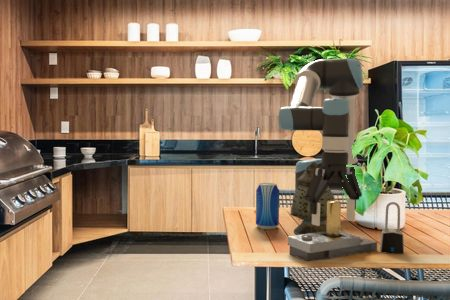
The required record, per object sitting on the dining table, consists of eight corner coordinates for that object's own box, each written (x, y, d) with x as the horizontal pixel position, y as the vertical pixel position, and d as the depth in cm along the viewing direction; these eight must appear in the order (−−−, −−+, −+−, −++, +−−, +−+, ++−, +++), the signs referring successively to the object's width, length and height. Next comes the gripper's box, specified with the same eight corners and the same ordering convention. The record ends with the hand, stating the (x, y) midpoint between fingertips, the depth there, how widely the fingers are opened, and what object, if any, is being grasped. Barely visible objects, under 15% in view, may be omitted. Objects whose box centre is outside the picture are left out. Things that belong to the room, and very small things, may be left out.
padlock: (402, 250, 138) (404, 201, 137) (404, 254, 134) (406, 203, 133) (379, 248, 140) (380, 200, 139) (380, 252, 136) (381, 202, 135)
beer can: (277, 230, 163) (278, 185, 162) (254, 229, 165) (254, 185, 164) (279, 225, 171) (280, 183, 171) (257, 224, 173) (257, 182, 172)
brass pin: (333, 249, 139) (334, 200, 138) (342, 252, 135) (343, 202, 134) (323, 250, 137) (324, 201, 136) (332, 254, 134) (333, 203, 133)
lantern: (340, 232, 160) (342, 161, 159) (321, 240, 149) (322, 164, 148) (305, 226, 169) (307, 159, 168) (284, 233, 159) (285, 161, 157)
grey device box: (352, 242, 147) (353, 224, 147) (376, 250, 138) (377, 231, 138) (287, 253, 134) (287, 233, 134) (309, 262, 126) (309, 241, 125)
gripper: (356, 149, 144) (355, 216, 145) (293, 151, 132) (292, 224, 133) (375, 151, 137) (373, 221, 139) (310, 153, 125) (308, 229, 126)
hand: (333, 222), depth 136 cm, fingers open, 13 cm apart
